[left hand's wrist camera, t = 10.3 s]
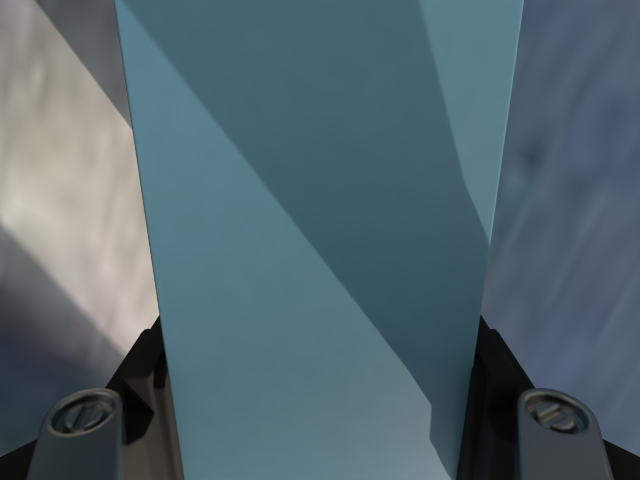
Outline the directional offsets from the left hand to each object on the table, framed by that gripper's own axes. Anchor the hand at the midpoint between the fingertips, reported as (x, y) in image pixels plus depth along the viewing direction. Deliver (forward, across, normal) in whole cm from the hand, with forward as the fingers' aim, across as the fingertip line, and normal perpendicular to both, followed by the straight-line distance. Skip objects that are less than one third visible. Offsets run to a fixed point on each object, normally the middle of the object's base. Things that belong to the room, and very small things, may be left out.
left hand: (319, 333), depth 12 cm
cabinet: (+8, 0, -6) cm, 10 cm away
